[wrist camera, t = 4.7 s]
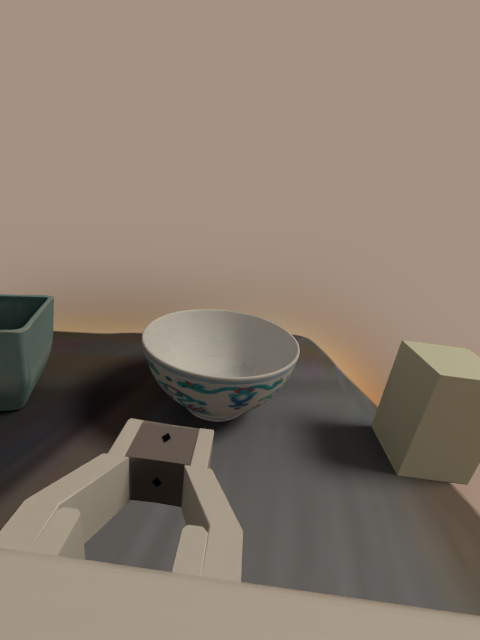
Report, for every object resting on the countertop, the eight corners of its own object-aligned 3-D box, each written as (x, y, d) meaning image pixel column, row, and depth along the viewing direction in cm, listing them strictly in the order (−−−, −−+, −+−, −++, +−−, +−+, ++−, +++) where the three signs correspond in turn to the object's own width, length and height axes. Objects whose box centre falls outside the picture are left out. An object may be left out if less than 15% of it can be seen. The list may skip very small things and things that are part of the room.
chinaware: (315, 420, 30) (332, 354, 27) (182, 486, 21) (188, 400, 19) (233, 355, 41) (239, 303, 38) (123, 382, 32) (120, 317, 30)
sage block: (428, 433, 30) (467, 348, 27) (467, 484, 25) (522, 385, 21) (371, 426, 30) (402, 340, 27) (397, 475, 25) (440, 374, 21)
